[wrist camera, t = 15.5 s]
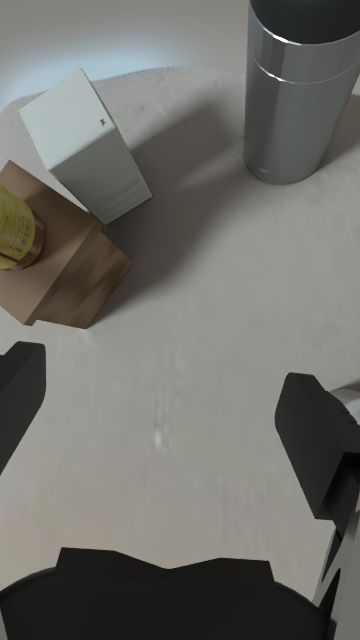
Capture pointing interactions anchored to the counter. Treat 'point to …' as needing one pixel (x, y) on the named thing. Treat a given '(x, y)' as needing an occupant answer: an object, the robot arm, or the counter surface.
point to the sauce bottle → (18, 233)
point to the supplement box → (85, 148)
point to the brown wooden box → (60, 260)
